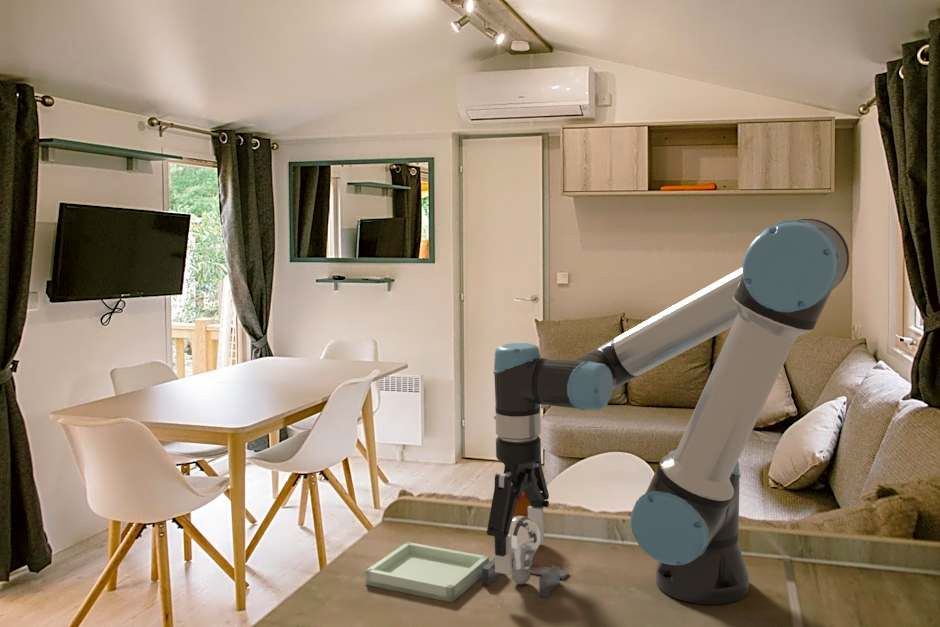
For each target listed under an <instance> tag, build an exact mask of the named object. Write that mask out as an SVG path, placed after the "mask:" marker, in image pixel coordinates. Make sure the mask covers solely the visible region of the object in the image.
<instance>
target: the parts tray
mask: <svg viewBox="0 0 940 627" xmlns="http://www.w3.org/2000/svg"><path fill="white" fill-rule="evenodd" d="M489 562H490V556H487V555H484V554H483V555H482V554H477V553H472V552H471V553H470V552H466V551H461V550H456V549H455V550H454V549H449V548H443V547H438V546H432V545H427V544H421V543H416V542H410V541H407V542H405V543H403V544H402V545H401V546H399V547H398V548H396V549H395V550H393V551H391V552H390V553H389V554H387V555H386V556H385V557H383V558H381V559H380V560H378V561H377V562H375V563H374V564H372V565H371V566H369V567H368V568H367V569H365V570H364V576H365V585H366V586H367V585H368V586H372V587H377V588H381V589H385V590H391V591H393V592H394V591H395V592H399V593H404V594H408V595H409V594H410V595H414V596H419V597H423V598H429V599H431V600H432V599H433V600H438V601H443V602H447V603H452V604H453V603H454V601H456V600H457V599H458V598H459V597H460V596H461V595H463V594H464V593H466V592H467V591H468V589H469V588H471V587H472V586H473V585H474V584H475V583H476V582H477V581H478V580H480V579H481V578H482V568H483V567H484V566H485V565H486V564H488V563H489Z"/></svg>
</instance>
